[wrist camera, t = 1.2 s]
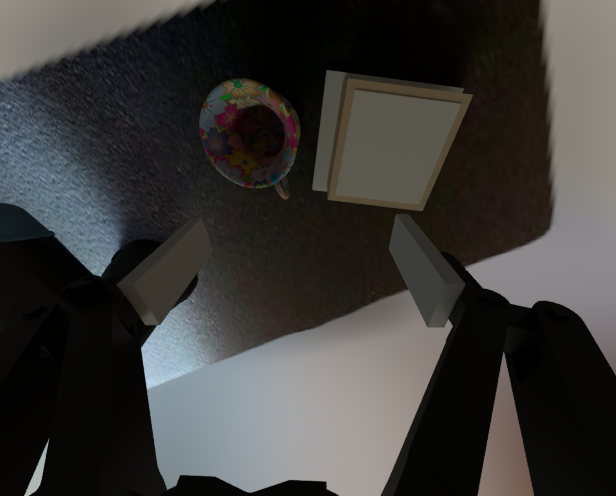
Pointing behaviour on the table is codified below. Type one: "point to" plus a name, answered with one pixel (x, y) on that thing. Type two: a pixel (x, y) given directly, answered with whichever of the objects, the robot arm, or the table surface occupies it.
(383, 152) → the cream stepped pedestal
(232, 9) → the table surface
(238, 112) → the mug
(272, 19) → the table surface
